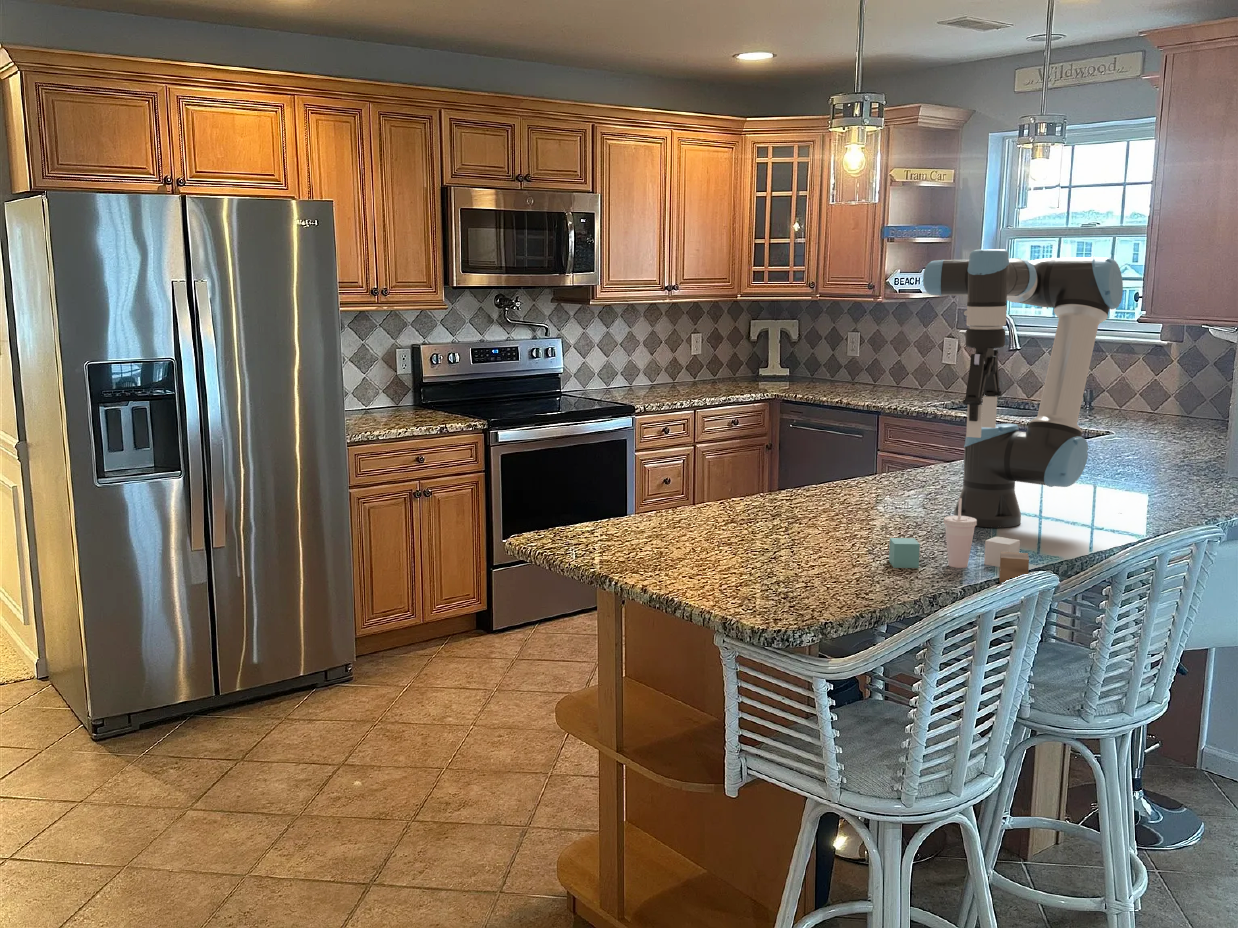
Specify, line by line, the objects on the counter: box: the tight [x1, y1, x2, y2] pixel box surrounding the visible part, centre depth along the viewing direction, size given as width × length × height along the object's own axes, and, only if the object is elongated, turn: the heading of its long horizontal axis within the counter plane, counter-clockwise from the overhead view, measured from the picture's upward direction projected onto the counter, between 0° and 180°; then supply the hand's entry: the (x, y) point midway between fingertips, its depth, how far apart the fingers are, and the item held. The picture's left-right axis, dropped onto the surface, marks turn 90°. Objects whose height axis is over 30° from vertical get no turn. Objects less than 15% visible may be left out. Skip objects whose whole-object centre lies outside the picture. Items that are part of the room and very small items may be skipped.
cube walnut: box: [998, 551, 1030, 584], centre depth 205 cm, size 5×5×5 cm
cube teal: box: [888, 537, 921, 569], centre depth 217 cm, size 5×5×5 cm
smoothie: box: [943, 498, 977, 569], centre depth 215 cm, size 6×6×14 cm
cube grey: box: [983, 536, 1021, 568], centre depth 217 cm, size 5×5×5 cm
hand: (981, 432), depth 219 cm, fingers open, 13 cm apart
